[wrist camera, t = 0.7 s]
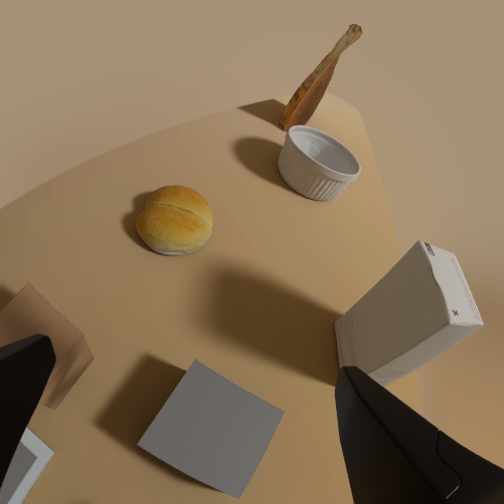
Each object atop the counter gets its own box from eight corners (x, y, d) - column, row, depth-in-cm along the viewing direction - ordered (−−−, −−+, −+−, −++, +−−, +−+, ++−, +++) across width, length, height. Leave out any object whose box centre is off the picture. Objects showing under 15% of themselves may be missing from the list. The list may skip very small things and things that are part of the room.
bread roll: (125, 245, 29) (126, 219, 26) (155, 193, 35) (159, 167, 32) (199, 271, 31) (207, 247, 28) (217, 214, 37) (226, 190, 34)
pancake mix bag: (314, 118, 70) (364, 29, 50) (301, 143, 57) (365, 26, 37) (291, 106, 70) (338, 16, 50) (271, 128, 57) (331, 9, 37)
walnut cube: (55, 410, 17) (31, 397, 13) (8, 362, 17) (-21, 336, 13) (93, 359, 21) (82, 333, 17) (46, 316, 21) (28, 282, 17)
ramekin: (328, 167, 55) (346, 139, 50) (350, 215, 47) (373, 185, 42) (266, 148, 51) (281, 116, 46) (278, 197, 43) (298, 160, 38)
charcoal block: (224, 492, 18) (239, 498, 15) (137, 444, 18) (137, 444, 15) (264, 417, 23) (284, 411, 21) (187, 372, 24) (195, 359, 21)
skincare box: (379, 389, 29) (488, 331, 18) (336, 389, 27) (453, 325, 16) (370, 324, 34) (458, 252, 23) (330, 318, 33) (421, 235, 22)
